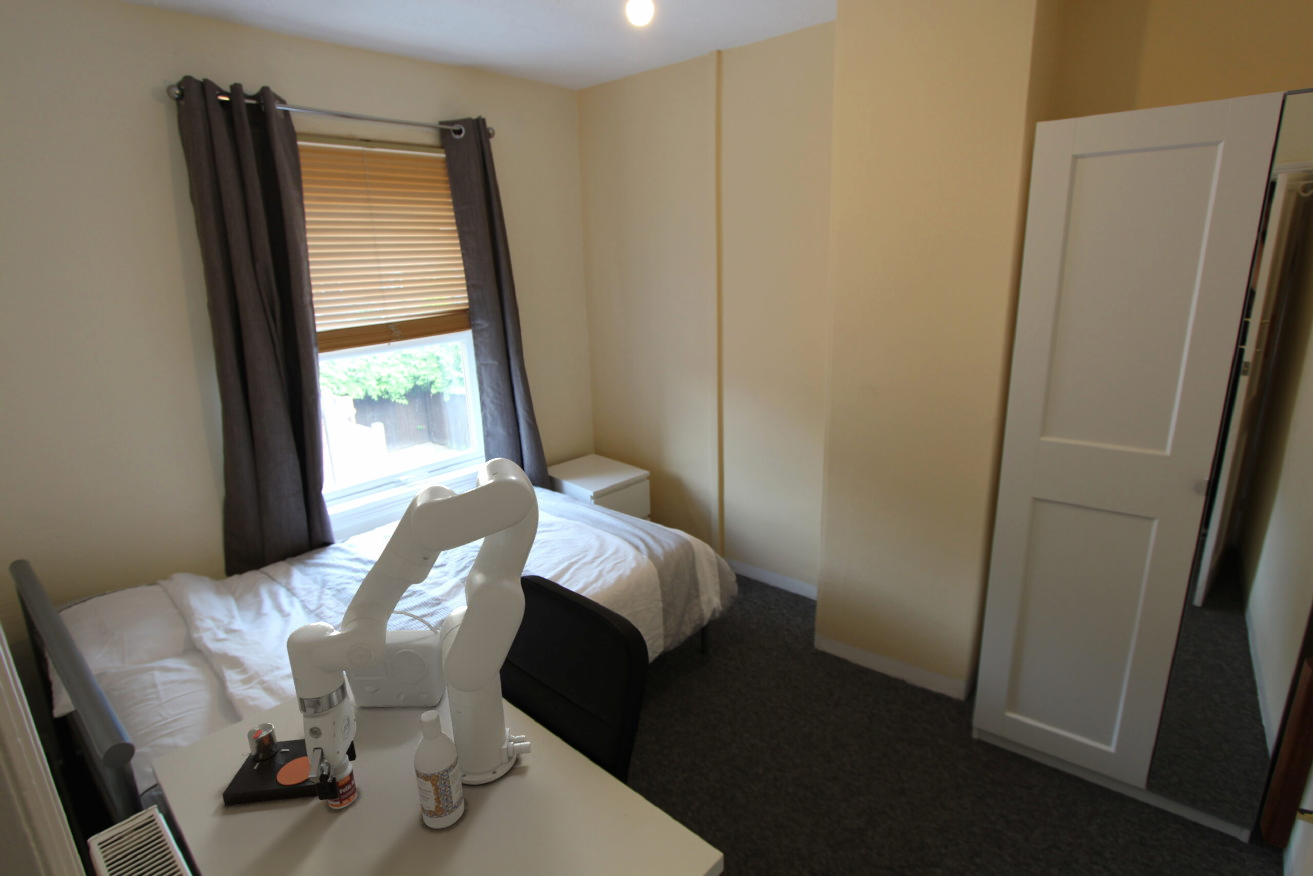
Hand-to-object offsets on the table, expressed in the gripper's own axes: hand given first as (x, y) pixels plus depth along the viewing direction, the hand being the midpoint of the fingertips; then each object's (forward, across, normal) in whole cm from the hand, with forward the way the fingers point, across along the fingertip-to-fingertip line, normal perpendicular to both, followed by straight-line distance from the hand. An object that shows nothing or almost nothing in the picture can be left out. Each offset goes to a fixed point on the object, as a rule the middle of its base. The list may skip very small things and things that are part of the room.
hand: (338, 778), depth 118 cm
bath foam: (+5, -6, -19) cm, 21 cm away
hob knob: (+2, +12, +18) cm, 21 cm away
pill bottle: (+5, 0, 0) cm, 5 cm away
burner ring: (+2, +6, +9) cm, 11 cm away
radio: (+5, +27, -3) cm, 28 cm away
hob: (+5, +8, +13) cm, 16 cm away
